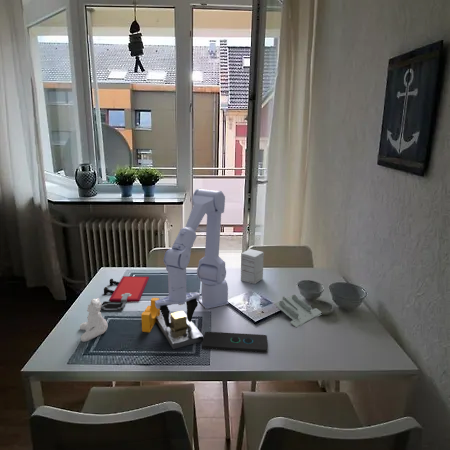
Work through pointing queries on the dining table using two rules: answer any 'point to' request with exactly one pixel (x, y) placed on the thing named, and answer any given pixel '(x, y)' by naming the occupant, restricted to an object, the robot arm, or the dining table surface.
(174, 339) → the metal plate with hole
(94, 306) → the sitting furry creature
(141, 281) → the red board with handle
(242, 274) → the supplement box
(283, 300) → the metal bracket
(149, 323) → the pipe clamp
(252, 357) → the dining table surface
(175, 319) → the brass block
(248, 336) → the smart home device
